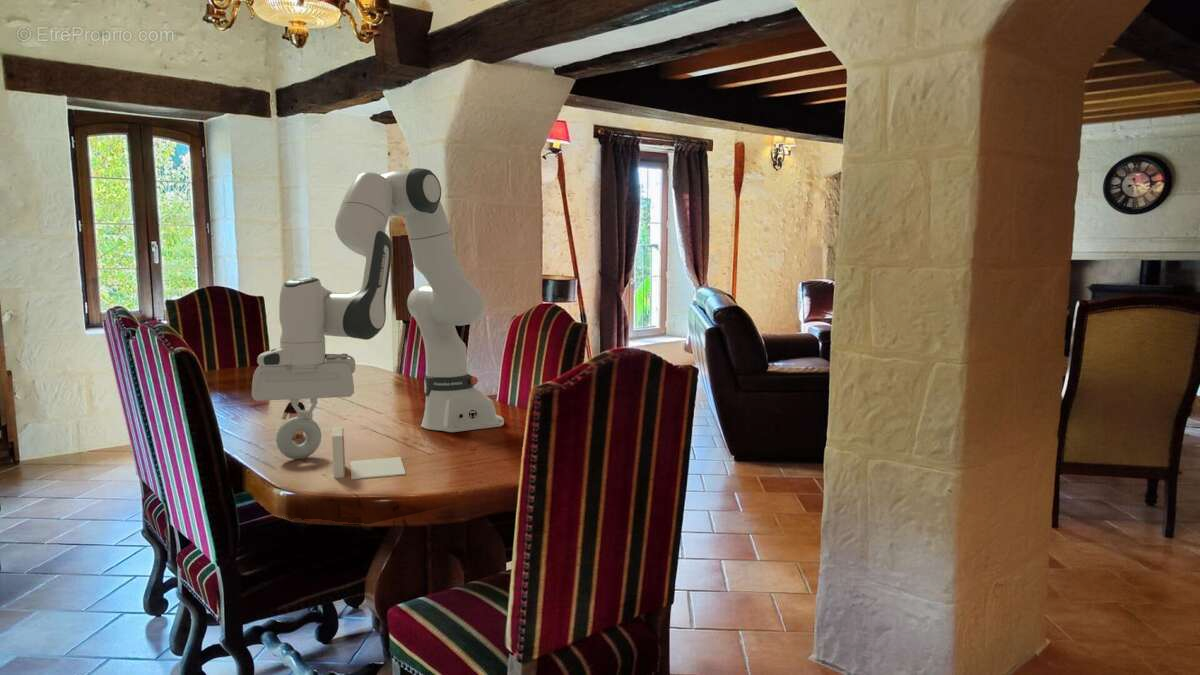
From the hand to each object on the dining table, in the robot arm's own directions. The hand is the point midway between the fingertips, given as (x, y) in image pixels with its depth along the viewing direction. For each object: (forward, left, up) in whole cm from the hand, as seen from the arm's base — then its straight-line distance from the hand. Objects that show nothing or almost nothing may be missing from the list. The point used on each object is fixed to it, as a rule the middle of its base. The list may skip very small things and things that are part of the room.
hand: (305, 419), depth 160 cm
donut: (+2, -14, -12) cm, 19 cm away
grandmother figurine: (+4, -38, -12) cm, 40 cm away
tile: (-6, 0, -12) cm, 14 cm away
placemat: (-14, 0, -12) cm, 19 cm away
